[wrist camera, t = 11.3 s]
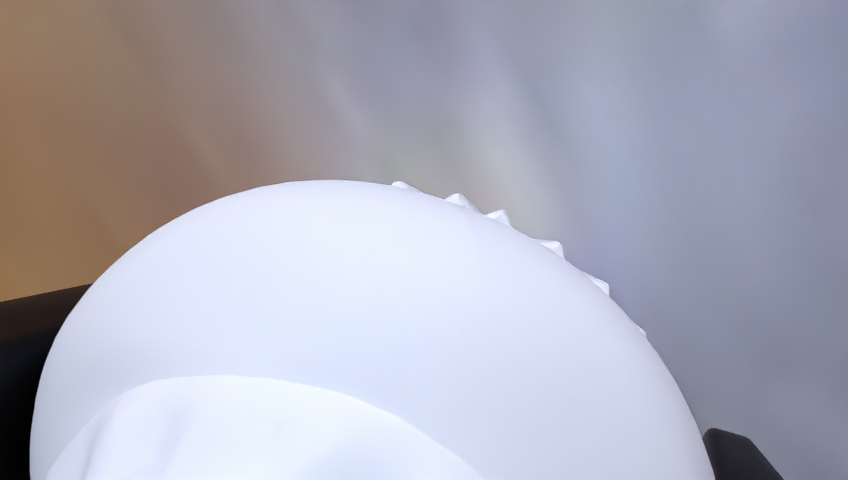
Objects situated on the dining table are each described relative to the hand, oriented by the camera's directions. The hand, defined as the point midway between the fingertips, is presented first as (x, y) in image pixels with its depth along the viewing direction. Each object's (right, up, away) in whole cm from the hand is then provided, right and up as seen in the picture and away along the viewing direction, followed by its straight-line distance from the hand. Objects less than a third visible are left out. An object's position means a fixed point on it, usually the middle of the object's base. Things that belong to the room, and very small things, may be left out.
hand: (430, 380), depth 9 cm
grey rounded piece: (0, +1, +1) cm, 1 cm away
